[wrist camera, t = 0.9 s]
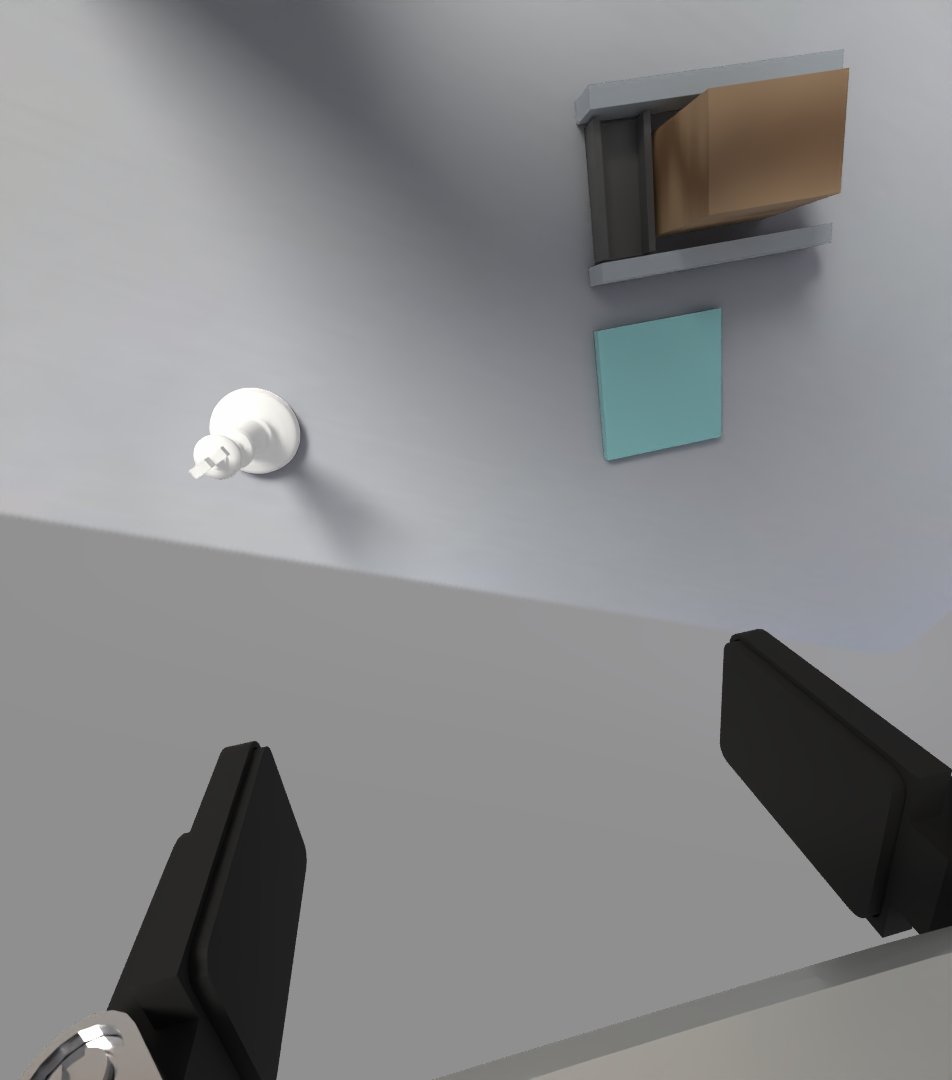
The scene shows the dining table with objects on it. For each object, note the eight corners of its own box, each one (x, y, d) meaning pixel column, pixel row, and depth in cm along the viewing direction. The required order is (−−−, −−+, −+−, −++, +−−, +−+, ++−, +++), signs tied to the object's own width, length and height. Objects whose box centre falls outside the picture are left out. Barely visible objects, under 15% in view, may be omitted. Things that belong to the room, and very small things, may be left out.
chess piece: (318, 441, 32) (291, 479, 23) (253, 488, 32) (201, 545, 23) (260, 370, 30) (206, 380, 21) (192, 421, 30) (108, 453, 21)
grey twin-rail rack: (575, 102, 28) (588, 85, 26) (814, 67, 29) (843, 49, 28) (590, 286, 31) (603, 283, 30) (805, 248, 33) (831, 242, 31)
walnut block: (646, 137, 29) (708, 88, 24) (762, 119, 30) (849, 68, 24) (650, 238, 31) (709, 214, 26) (760, 219, 32) (840, 192, 26)
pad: (593, 331, 32) (597, 331, 32) (715, 308, 33) (721, 307, 33) (604, 458, 35) (607, 460, 35) (716, 435, 36) (721, 436, 35)
